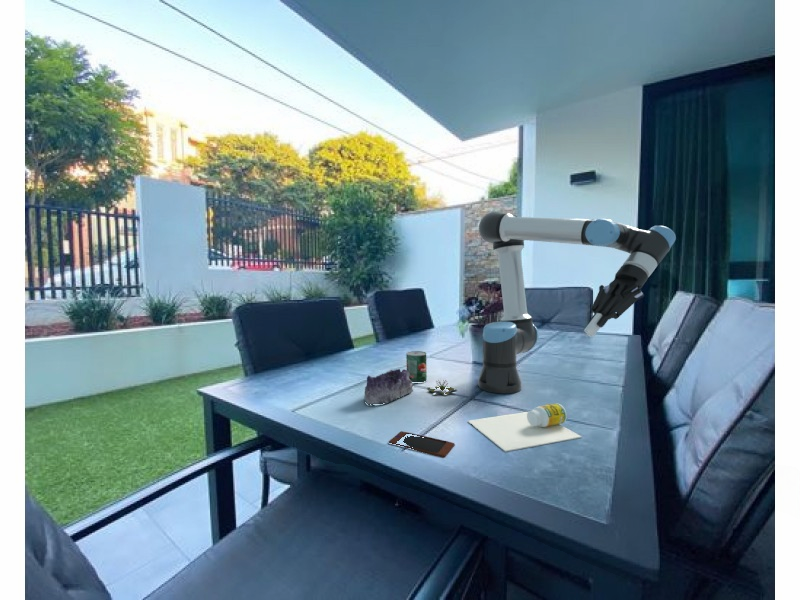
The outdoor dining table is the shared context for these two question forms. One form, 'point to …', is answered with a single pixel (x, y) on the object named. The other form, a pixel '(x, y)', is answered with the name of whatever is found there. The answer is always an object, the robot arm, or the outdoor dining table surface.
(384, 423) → the outdoor dining table surface
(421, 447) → the smartphone
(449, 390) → the lily flower
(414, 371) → the canned tomato
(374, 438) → the outdoor dining table surface
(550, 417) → the supplement bottle
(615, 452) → the outdoor dining table surface
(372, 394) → the geode
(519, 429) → the mat
